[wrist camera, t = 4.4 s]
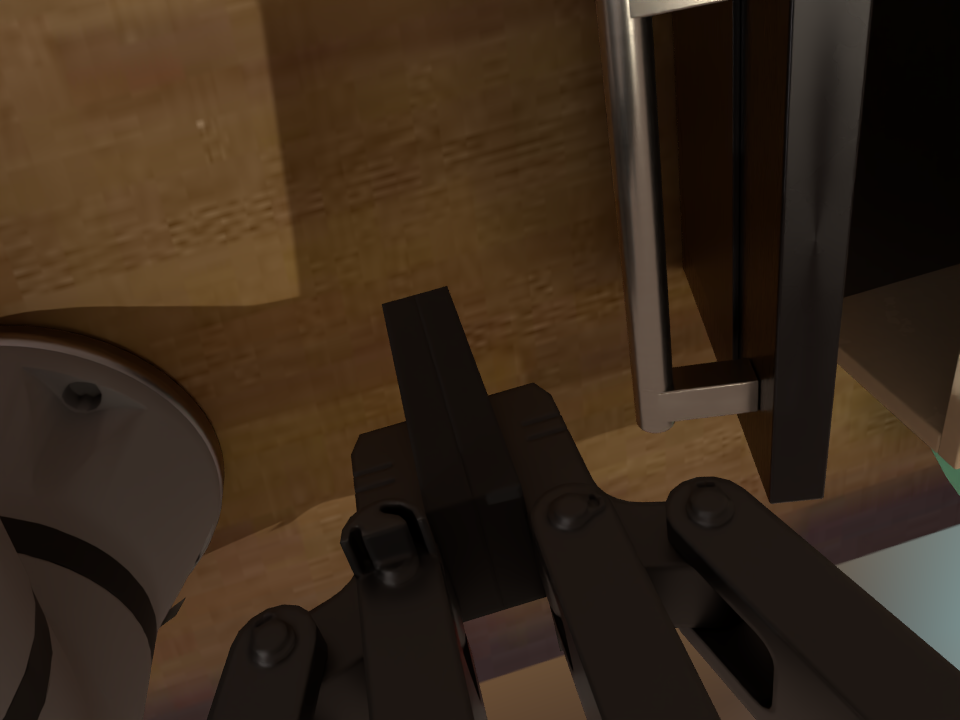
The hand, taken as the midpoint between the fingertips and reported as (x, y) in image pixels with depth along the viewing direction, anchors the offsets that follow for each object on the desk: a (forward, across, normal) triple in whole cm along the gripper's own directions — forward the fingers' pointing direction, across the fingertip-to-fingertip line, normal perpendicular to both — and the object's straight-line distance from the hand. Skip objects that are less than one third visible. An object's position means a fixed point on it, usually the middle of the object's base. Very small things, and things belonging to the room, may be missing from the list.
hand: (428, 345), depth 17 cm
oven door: (+15, +11, 0) cm, 18 cm away
